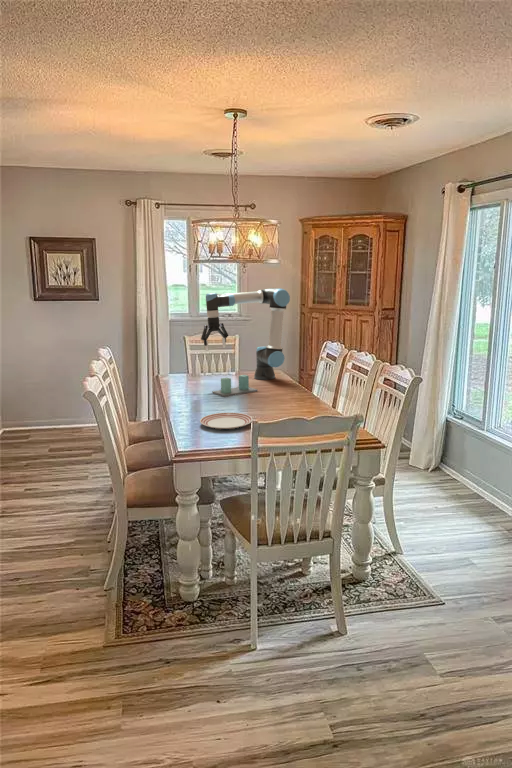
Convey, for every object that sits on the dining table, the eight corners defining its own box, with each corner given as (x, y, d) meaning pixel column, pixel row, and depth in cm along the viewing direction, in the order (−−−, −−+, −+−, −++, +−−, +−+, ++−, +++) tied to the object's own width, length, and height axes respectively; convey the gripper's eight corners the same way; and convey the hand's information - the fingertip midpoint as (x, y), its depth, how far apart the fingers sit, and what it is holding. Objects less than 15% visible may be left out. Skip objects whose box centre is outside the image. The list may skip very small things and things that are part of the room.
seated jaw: (244, 389, 392) (244, 374, 390) (248, 390, 388) (248, 375, 386) (238, 390, 389) (238, 375, 387) (243, 391, 385) (242, 376, 383)
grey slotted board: (244, 387, 397) (244, 386, 397) (257, 391, 387) (257, 389, 386) (212, 393, 382) (212, 391, 382) (224, 397, 371) (224, 395, 371)
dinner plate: (240, 434, 292) (240, 428, 291) (190, 429, 302) (190, 423, 301) (260, 420, 317) (260, 414, 316) (213, 416, 327) (213, 410, 326)
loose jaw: (227, 392, 383) (226, 377, 381) (231, 393, 380) (230, 378, 378) (221, 393, 381) (220, 378, 379) (225, 394, 377) (224, 379, 375)
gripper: (225, 314, 399) (228, 346, 403) (193, 318, 385) (196, 351, 389) (232, 315, 393) (234, 346, 397) (199, 319, 379) (202, 351, 383)
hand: (215, 349), depth 393 cm, fingers open, 13 cm apart
